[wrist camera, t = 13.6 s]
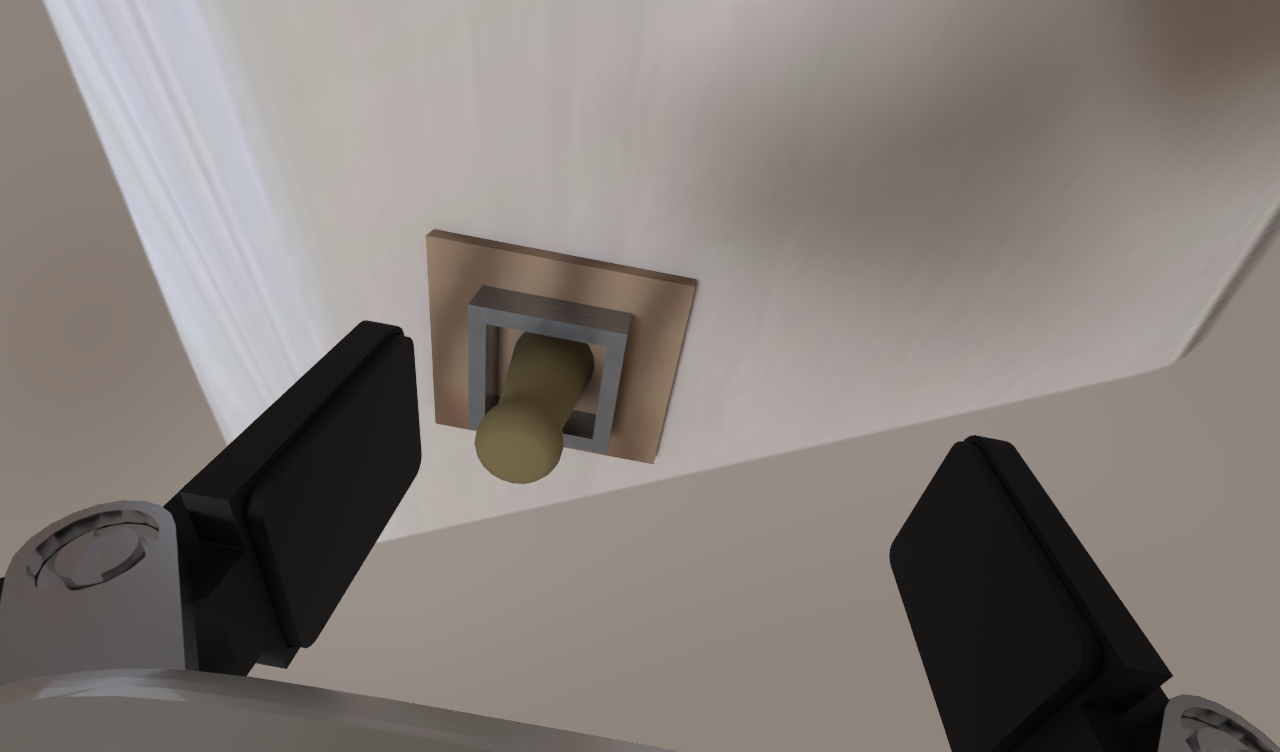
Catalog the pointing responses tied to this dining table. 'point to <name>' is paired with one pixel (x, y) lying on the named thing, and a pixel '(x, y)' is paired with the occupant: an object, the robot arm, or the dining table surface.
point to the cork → (534, 408)
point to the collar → (554, 321)
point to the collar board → (643, 293)
